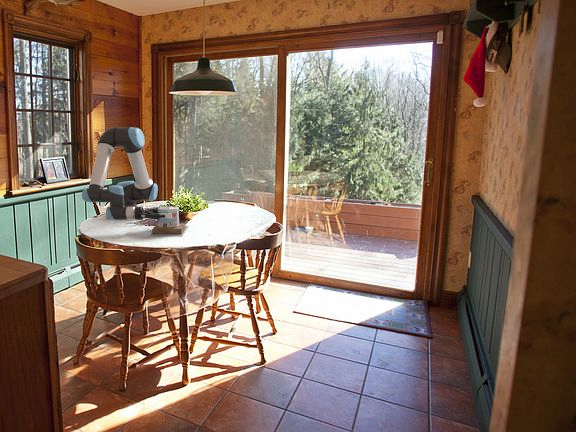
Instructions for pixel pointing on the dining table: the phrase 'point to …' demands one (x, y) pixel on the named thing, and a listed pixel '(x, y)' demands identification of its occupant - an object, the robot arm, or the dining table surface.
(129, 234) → the dining table surface
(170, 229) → the walnut plinth
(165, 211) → the light bulb box
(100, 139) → the robot arm
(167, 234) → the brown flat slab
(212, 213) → the dining table surface
